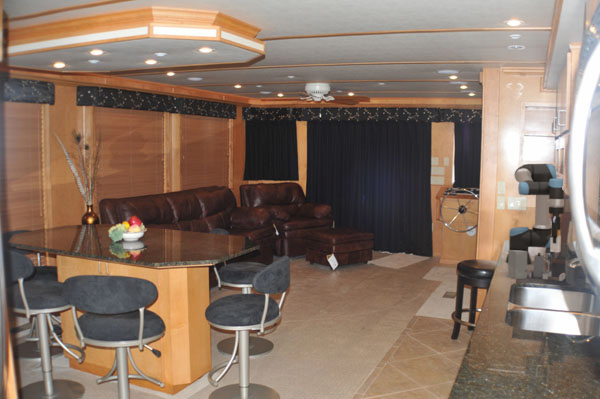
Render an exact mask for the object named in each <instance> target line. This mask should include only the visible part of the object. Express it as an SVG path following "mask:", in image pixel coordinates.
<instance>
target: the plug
mask: <svg viewBox="0 0 600 399" xmlns="http://www.w3.org/2000/svg"><path fill="white" fill-rule="evenodd" d="M551 235H552V230H551ZM557 237H558V249H552V237H551V241H550V247H549V248H550V249H549V251H550V252H551V253H552V252H553V253H560V252H561V251H562V250H561V249H562V247H561V246H562V235H561V229H560V230H558V232H557Z"/></svg>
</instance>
